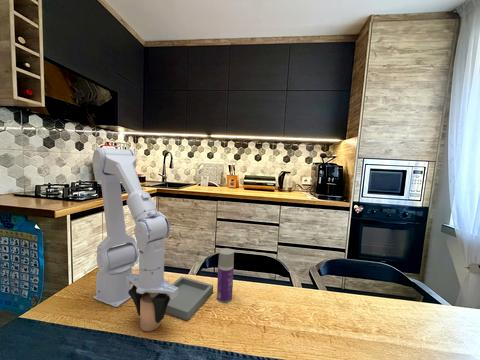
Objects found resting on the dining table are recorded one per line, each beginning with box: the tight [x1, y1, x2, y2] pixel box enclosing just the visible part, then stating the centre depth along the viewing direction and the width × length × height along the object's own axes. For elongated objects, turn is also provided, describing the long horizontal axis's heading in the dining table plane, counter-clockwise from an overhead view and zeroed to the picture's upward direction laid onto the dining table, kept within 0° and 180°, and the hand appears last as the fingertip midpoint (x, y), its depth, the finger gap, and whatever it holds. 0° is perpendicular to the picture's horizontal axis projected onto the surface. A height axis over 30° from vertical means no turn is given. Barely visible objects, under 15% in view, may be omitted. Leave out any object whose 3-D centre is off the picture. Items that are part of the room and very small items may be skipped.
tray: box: [165, 275, 214, 322], centre depth 67 cm, size 12×14×2 cm
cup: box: [139, 292, 162, 332], centre depth 56 cm, size 5×5×7 cm
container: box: [216, 247, 235, 304], centre depth 68 cm, size 5×5×15 cm
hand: (150, 316), depth 56 cm, fingers closed on cup, 5 cm apart
